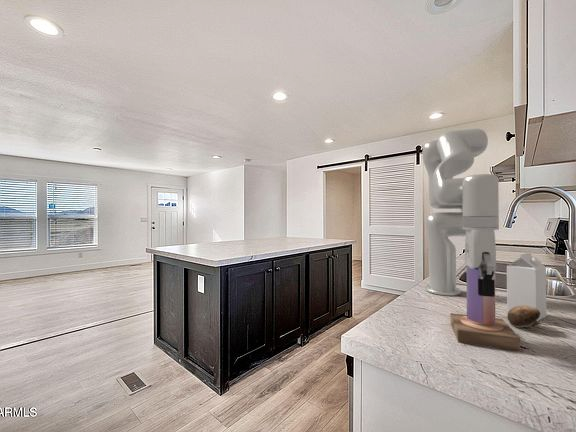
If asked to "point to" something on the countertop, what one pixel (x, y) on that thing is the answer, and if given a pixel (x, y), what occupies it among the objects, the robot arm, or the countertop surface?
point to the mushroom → (523, 316)
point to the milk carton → (527, 284)
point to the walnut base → (484, 333)
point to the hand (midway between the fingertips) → (480, 290)
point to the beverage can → (478, 301)
